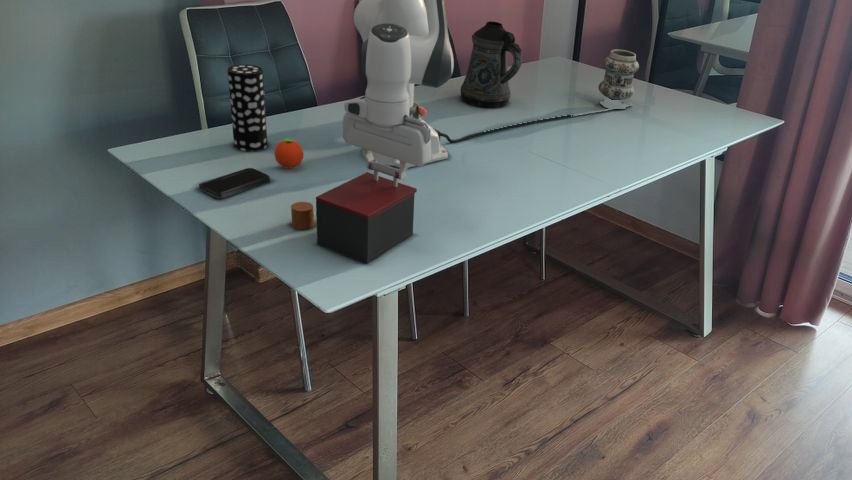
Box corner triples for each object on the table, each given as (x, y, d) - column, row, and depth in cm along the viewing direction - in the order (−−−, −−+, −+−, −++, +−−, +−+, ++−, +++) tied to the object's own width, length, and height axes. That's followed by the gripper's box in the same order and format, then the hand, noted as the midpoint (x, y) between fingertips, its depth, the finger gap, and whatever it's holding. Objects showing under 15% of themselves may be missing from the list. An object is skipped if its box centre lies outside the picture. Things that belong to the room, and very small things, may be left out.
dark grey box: (364, 217, 170) (365, 176, 164) (412, 235, 165) (414, 193, 160) (317, 244, 157) (315, 200, 152) (367, 264, 152) (368, 219, 147)
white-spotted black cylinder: (258, 153, 194) (252, 76, 184) (228, 148, 195) (221, 70, 185) (273, 142, 201) (268, 67, 191) (243, 137, 202) (237, 62, 192)
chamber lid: (367, 175, 165) (367, 154, 163) (416, 192, 160) (417, 171, 158) (315, 200, 152) (315, 178, 150) (368, 219, 147) (368, 197, 145)
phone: (272, 176, 180) (218, 195, 169) (272, 181, 180) (218, 199, 170) (250, 166, 183) (196, 184, 173) (250, 171, 184) (196, 188, 173)
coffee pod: (309, 218, 167) (309, 200, 164) (316, 227, 163) (316, 209, 161) (289, 221, 164) (288, 203, 162) (295, 231, 161) (295, 212, 159)
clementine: (272, 161, 191) (270, 134, 187) (300, 159, 194) (299, 132, 190) (277, 173, 185) (276, 146, 181) (306, 171, 187) (305, 144, 184)
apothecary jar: (633, 113, 254) (643, 59, 244) (597, 109, 253) (606, 55, 244) (628, 101, 264) (638, 49, 255) (594, 98, 264) (603, 46, 254)
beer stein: (464, 89, 257) (470, 13, 244) (521, 98, 256) (530, 21, 243) (455, 104, 243) (461, 24, 230) (515, 113, 241) (524, 33, 229)
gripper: (439, 118, 151) (435, 182, 158) (357, 94, 158) (356, 156, 165) (421, 126, 146) (418, 192, 153) (337, 101, 153) (338, 165, 161)
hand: (385, 173), depth 159 cm, fingers closed on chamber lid, 6 cm apart
